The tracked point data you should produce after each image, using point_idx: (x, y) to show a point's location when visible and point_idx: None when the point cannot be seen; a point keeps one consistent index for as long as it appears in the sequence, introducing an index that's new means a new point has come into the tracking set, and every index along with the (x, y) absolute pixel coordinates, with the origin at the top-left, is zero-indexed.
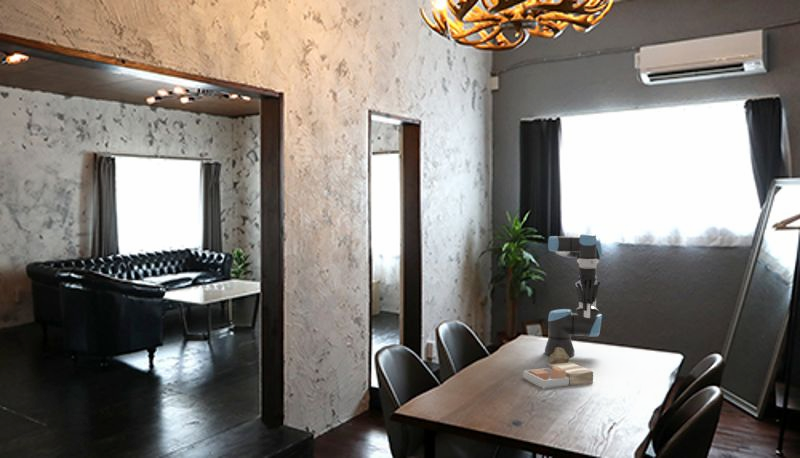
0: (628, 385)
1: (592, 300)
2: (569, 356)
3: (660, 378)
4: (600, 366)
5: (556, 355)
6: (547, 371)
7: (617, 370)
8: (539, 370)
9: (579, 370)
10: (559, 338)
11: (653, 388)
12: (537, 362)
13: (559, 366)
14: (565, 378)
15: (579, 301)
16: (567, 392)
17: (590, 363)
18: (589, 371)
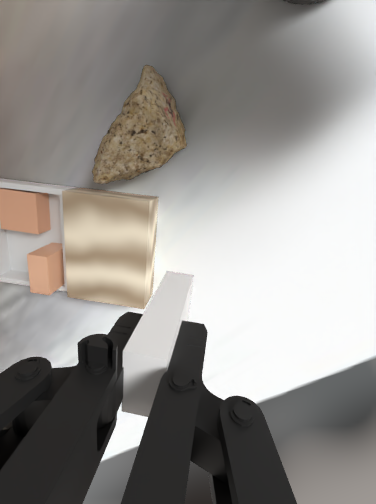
0: (219, 346)
1: (210, 459)
2: (309, 2)
3: (351, 349)
4: (305, 180)
5: (99, 167)
6: None
7: (314, 242)
8: (23, 203)
9: (114, 284)
10: None
11: (254, 384)
12: (129, 24)
13: (81, 224)
14: (59, 290)
15: (17, 373)
16: (50, 315)
17: (307, 131)
18: (134, 303)
